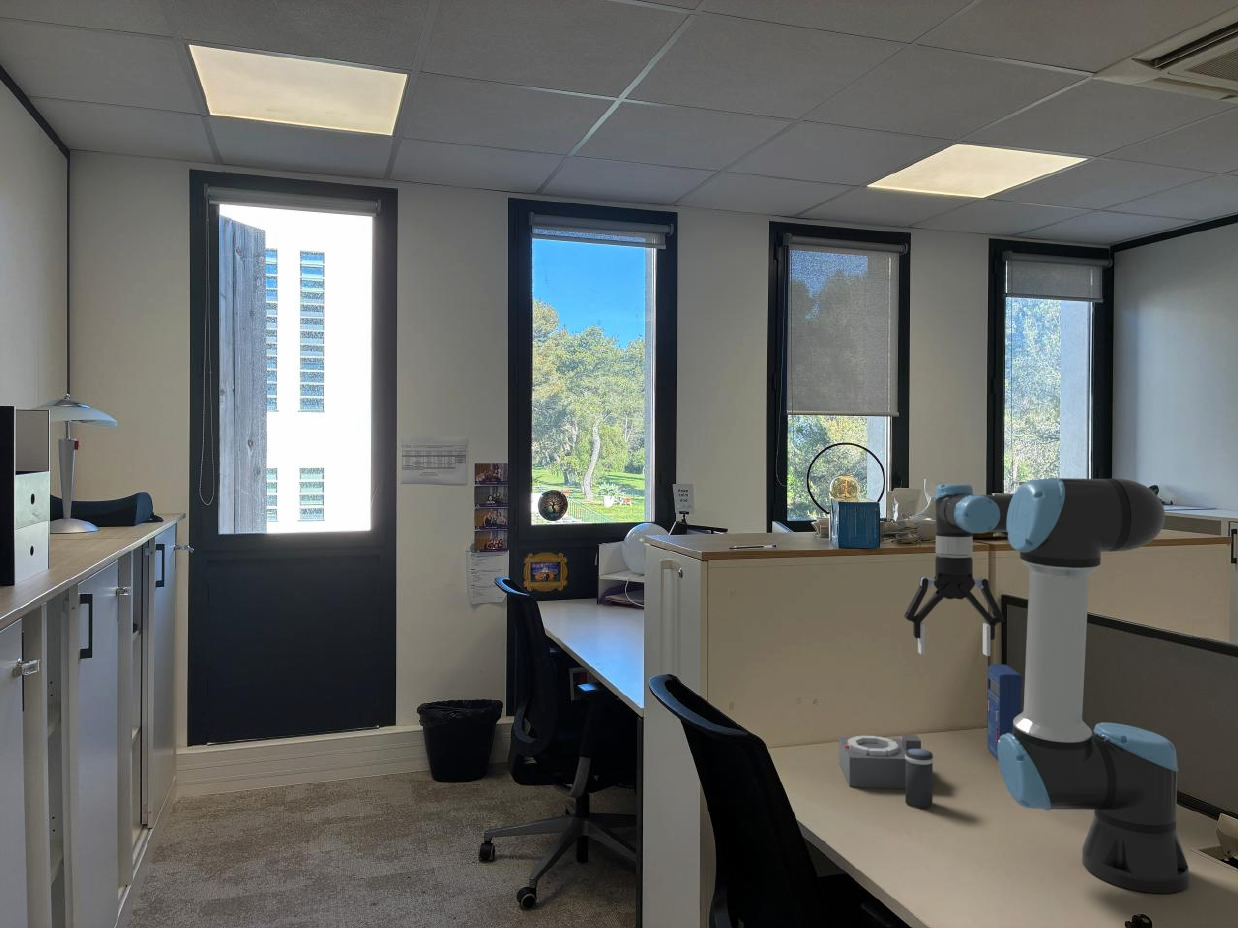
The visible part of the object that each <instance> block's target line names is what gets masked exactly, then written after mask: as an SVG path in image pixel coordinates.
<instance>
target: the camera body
mask: <svg viewBox="0 0 1238 928" xmlns="http://www.w3.org/2000/svg"><path fill="white" fill-rule="evenodd" d="M838 749H839V750H838V765H839V767H840V770H841V772H842V774H843V775H844V778H845V780H846V782H847V784H848V786H849V787H857V788H865V787H866V788H885V789H887V788H889V789H890V788H891V789H906V760H905V754H906V750H908V749H922V740H921V739H920V737H919V736H918V735H917V734H902V735H901V738H886V737H883V736H880V735H879V736H876V735H856V736H853V737H842V736H841V737H839V739H838Z"/></svg>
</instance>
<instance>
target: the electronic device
mask: <svg viewBox="0 0 1238 928" xmlns="http://www.w3.org/2000/svg"><path fill="white" fill-rule="evenodd" d="M1022 689H1023V676H1022V675H1021V674H1020V673H1019V672H1017V671H1016V670H1014V669H1013V668H1012V667H1011V666H1009V665H1007V664H990V665H988V666H987V750H988V751H989V752H990V753H991V754H992V755H993V756H994V757H995V759H996V760H997V762H999V760H998V741H999V740H1000V737H1001V736H1002V735H1004V734H1007V733H1011V734H1012V733H1013V720H1014V718H1015V717H1016V716H1018V715H1019V714H1021V713H1022Z"/></svg>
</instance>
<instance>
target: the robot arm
mask: <svg viewBox="0 0 1238 928" xmlns="http://www.w3.org/2000/svg"><path fill="white" fill-rule="evenodd" d="M934 503H935V553H936V554H937V555H936V557H935V558H934V559H935V562H934V563H935V565H934V566H935V569H934V570H935V571H934V573H935V575H934V577H933V578H928V577H927V578H926V577H924V576H921V577H920V579H919V586H918V588H917V590H916V592H915V594H914V596H913V598H912V599H911V602H910V604H909V605H908V608H907V610H906V611H905V614H904V618H905V619H906V620H908V621H909V622H912V625H913V628H912V629H913V630H912V631H913V633H912V634H913V637H914V639H917V652H918V653H919V655H923V656H924V655H925V654H926V653H925V649H926V647H925V646H926V645H925V644H926V643H925V641H926V639H925V638H926V637H925V633H926V629H925V627H926V626H925V625H926V624H924V622H923V620H925V619H926V617H928V615H929V614H930V613H931V612H932V611H933V609H934V608H935V607H936V606H937V605H938V604H939V603H940V602H941V601H942V600H943V599H947V600H954V599H957V600H963V599H966V600H967V601H968V602H969V603H970V604H971V606H972V607H973V608H974V609H975V610H976V611H977V612H978V614H980V616H981V617H982V618H983V619H984V620H985V622H986V623H985V622H983V623H982V654H983V655H985V656H986V657H991V640H992V641H994V640H995V638H996V626H997V624H1000V623H1004V622H1005V617H1004V615H1003V614H1002V611H1001V609H1000V607H999V605H998V603H997V602H996V599H995V598H994V595H993V594H992V592H991V590H990V584H989V583H990V582H989V580H988V579H987V578H985V577H980V578H976V579H974V577H973V575H974V574H973V572H974V571H973V566H974V563H973V561H974V559H973V558H972V556H971V555H973V553H974V551H973V550H974V545H973V543H974V542H973V541H974V540H973V535H974V534H985V533H996V532H999V533H1005V532H1006V533H1007V540H1008V542H1009V545H1010V546H1011V548H1013V550H1015V551H1017V552H1019V553H1020V554H1019V561H1021V563H1022V564H1023V565H1024V566H1025V567H1026V568H1027V569H1028V571H1029V577H1028V579H1029V580H1028V597H1027V598H1028V600H1027V622H1026V624H1027V626H1026V643H1025V644H1026V646H1025V648H1026V649H1025V672H1024V673H1025V674H1024V693H1023V694H1024V697H1023V699H1024V700H1023V711H1021V714H1019V715H1018V716H1016V717H1015V718H1014V720H1013V733H1012V734H1011V733H1007V734H1004V735H1002V736H1001V737H1000V740H999V741H998V759H997V761H998V760H999V761H998V764H999V769H1000V774H1001V777H1002V780H1003V782H1004V784H1005V787H1006V790H1007V791H1008V792H1009V794H1010V796H1011V797H1012V799H1013V800H1014V801H1015V802H1016V803H1017V804H1018V805H1020V806H1021V807H1023V808H1027V809H1035V810H1036V809H1037V810H1038V809H1039V810H1044V811H1050V810H1058V811H1059V810H1061V811H1062V810H1071V811H1072V810H1075V811H1077V810H1081V811H1082V810H1083V811H1084V810H1086V811H1087V810H1094V812H1093V813H1094V816H1093V819H1092V821H1091V825H1090V827H1089V830H1088V833H1087V836H1086V837H1085V840H1084V843H1083V845H1082V851H1081V854H1082V855H1081V856H1082V857H1081V858H1082V859H1081V860H1082V861H1081V862H1082V865H1083V866H1084V868H1085V869H1086V870H1087V871H1088V872H1089V873H1091V874H1092V875H1094V876H1095V877H1097V878H1099V879H1101V880H1103V881H1105V882H1107V883H1109V884H1112V885H1114V886H1118V887H1121V888H1124V889H1129V890H1132V891H1137V892H1143V893H1149V894H1151V893H1152V894H1171V893H1172V894H1175V893H1180V892H1181V891H1184V890H1186V889H1187V888H1188V887H1189V885H1190V868H1189V865H1188V862H1187V859H1186V856H1185V852H1184V850H1183V847H1182V845H1181V841H1180V839H1179V836H1178V832H1177V809H1178V808H1177V804H1178V803H1177V799H1178V798H1177V796H1178V795H1177V794H1178V789H1177V788H1178V778H1177V777H1178V772H1179V767H1178V759H1177V750H1176V748H1175V745H1174V744H1173V743H1172V742H1171V741H1170V740H1169V739H1167V738H1166V737H1164V736H1162V735H1160V734H1157V733H1156V732H1154V731H1149V730H1146V729H1143V728H1140V727H1136V726H1132V725H1127V724H1121V723H1118V722H1117V723H1115V722H1100V723H1099V722H1098V723H1096V724H1095V726H1094V729H1093V731H1092V729H1091V728H1090V727H1089V726H1088V725H1087V724H1086V723H1085V721H1083V707H1084V706H1083V705H1084V701H1083V700H1084V688H1085V687H1084V684H1085V682H1084V681H1085V667H1086V665H1085V662H1086V645H1087V644H1086V643H1087V627H1088V626H1087V623H1088V605H1089V604H1088V602H1089V583H1090V582H1089V581H1090V575H1091V574H1092V573H1094V572H1095V571H1097V570H1098V569H1099V568H1100V567H1101V561H1102V560H1101V558H1102V557H1101V556H1102V553H1103V552H1111V553H1112V552H1125V551H1131V550H1135V549H1139V548H1141V547H1144V546H1147V544H1149V543H1151V542H1152V541H1153V540H1155V538H1157V536H1158V535H1159V534H1160V533H1161V532H1162V529H1163V527H1164V524H1165V520H1166V519H1165V517H1166V514H1165V508H1164V504H1163V503H1162V500H1161V499H1160V498H1159V496H1158V495H1157V493H1156V492H1155V491H1153V490H1152V489H1151V488H1149V487H1148V486H1146V485H1144V484H1142V483H1140V482H1137V481H1134V480H1129V479H1123V478H1065V477H1064V478H1061V477H1049V478H1038V479H1036V478H1035V479H1030V480H1028V481H1026V482H1023V483H1022V484H1021V485H1020V486H1019V487H1018V488H1017V489H1016V491H1015V492H1014V493H1013V495H1009V494H1003V495H1002V494H974V492H973V486H972V485H970V484H968V483H967V484H965V483H964V484H961V483H959V484H958V483H957V484H956V483H949V484H947V483H946V484H945V483H943V484H942V483H941V484H938V485H937V486H936V488H935V499H934ZM932 585H933V586H934V587H935V589H936V590H935V591H934V592H933V594H932V596H931V597H930V598H929V599H928V600H927V601H926V602H925V604H924V605H923V606H922V607H921V608H920V609H919V607H920V605H921V604H922V601H923V599H924V597H925V596H926V594H927V591H928V589H930V588H931V586H932ZM975 586H976V588H977V589H979V590H980V592H981V593H982V596H983V597H984V600H985V601H986V604H987V606H988V607H989V609H990V611H991V614H993V616H992V615H990V613H989V612H988V611H987V609H986V608H985V607H984V606H983V605H982V604H981V603H980V601H979V600H978V599H977V598H976V596H975V595H974V594H973V593H972V592H971V591H972V590H973V588H975ZM918 609H919V610H918ZM917 611H918V612H917ZM1093 733H1094V734H1093Z"/></svg>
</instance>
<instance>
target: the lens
mask: <svg viewBox="0 0 1238 928" xmlns="http://www.w3.org/2000/svg"><path fill="white" fill-rule="evenodd" d="M905 760H906V788H905V804H906V805H907V806H909V807H911V808H914V809H921V810H927V809H930V808H932V807H933V794H934V793H933V786H934V785H933V782H934V781H933V778H934V777H933V769H934V767H933V765H934V764H933V763H934V756H933V752H932V751H929V750H928V749H927V750H926V749H922V748H921V749H908V750H906V754H905Z"/></svg>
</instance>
